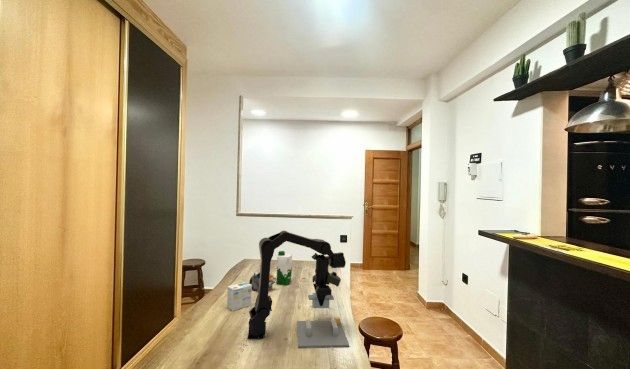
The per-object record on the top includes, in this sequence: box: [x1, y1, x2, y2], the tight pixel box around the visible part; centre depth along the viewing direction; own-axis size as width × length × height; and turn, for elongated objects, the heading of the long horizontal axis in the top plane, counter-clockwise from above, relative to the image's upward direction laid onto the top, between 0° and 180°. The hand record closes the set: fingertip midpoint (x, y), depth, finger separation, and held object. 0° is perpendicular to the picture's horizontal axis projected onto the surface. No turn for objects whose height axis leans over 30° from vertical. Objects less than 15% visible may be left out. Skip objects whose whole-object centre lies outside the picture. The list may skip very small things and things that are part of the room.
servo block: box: [307, 292, 335, 309], centre depth 125 cm, size 11×4×6 cm, turn 96°
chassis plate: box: [296, 316, 350, 349], centre depth 118 cm, size 20×20×4 cm
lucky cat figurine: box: [248, 271, 277, 292], centre depth 168 cm, size 15×12×14 cm
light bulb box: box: [226, 281, 253, 312], centre depth 143 cm, size 11×7×11 cm, turn 135°
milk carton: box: [276, 250, 293, 286], centre depth 179 cm, size 9×9×20 cm
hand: (320, 303), depth 125 cm, fingers closed on servo block, 4 cm apart
